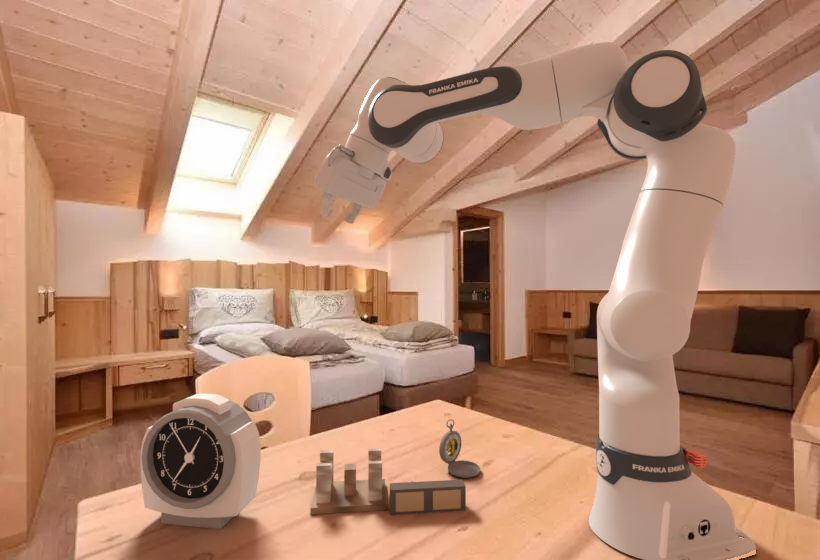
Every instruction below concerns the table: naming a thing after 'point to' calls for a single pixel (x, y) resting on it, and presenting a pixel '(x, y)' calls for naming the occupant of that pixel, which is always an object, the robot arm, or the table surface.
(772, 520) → the table surface
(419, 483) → the long grey beam
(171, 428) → the alarm clock
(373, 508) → the display stand
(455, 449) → the pocket watch
